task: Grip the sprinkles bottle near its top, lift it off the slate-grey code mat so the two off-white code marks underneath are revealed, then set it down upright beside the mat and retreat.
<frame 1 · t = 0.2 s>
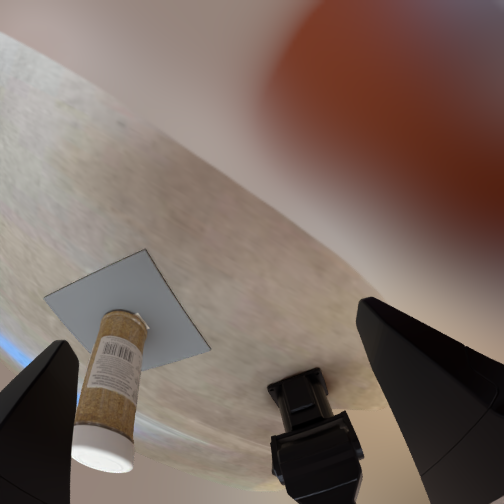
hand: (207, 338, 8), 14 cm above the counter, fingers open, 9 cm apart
code mat: (125, 326, 25), on the counter
sprinkles bottle: (125, 326, 25), resting on code mat
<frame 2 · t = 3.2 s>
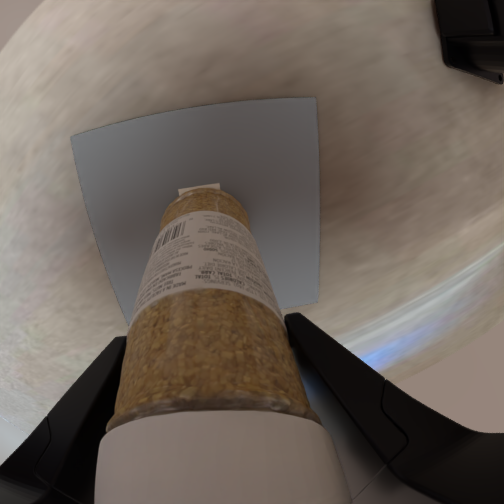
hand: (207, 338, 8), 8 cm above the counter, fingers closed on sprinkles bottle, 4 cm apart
code mat: (205, 226, 15), on the counter
sprinkles bottle: (205, 226, 15), resting on code mat, touching gripper
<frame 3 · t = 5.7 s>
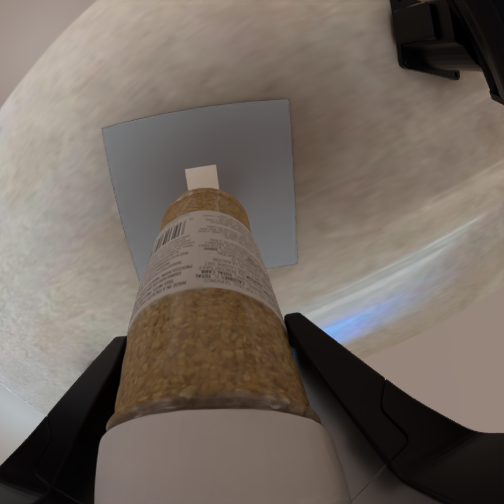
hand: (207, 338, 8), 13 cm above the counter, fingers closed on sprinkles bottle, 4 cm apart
code mat: (205, 198, 19), on the counter
sprinkles bottle: (205, 226, 15), point 5 cm above the counter, touching gripper
when the fingers open (9 cm above the counter, at t = 8.2 s): sprinkles bottle drops 1 cm, on the counter.
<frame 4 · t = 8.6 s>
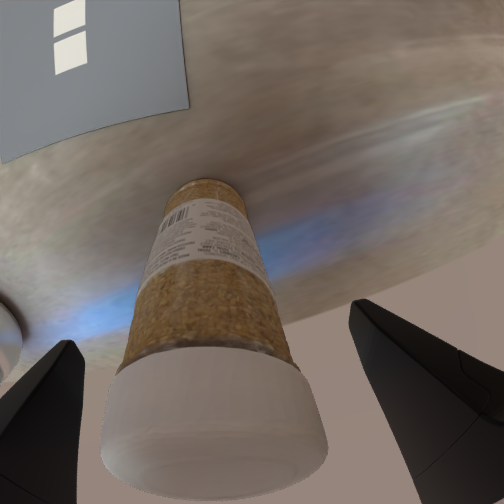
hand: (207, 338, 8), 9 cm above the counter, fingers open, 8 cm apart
code mat: (70, 34, 10), on the counter
sprinkles bottle: (205, 214, 16), on the counter
plastic bottle: (0, 315, 17), on the counter
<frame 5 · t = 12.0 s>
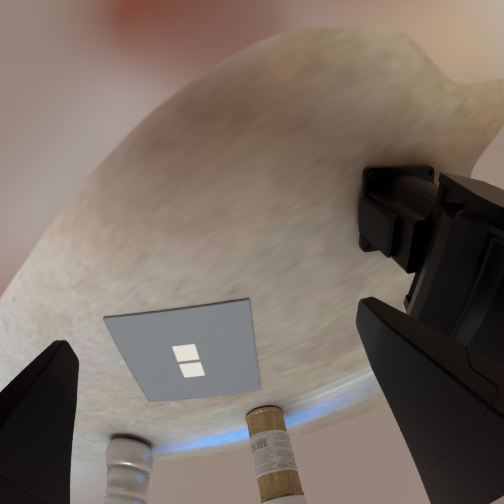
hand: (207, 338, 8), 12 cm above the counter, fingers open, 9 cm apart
code mat: (189, 360, 25), on the counter
sprinkles bottle: (264, 413, 31), on the counter
plastic bottle: (130, 441, 32), on the counter
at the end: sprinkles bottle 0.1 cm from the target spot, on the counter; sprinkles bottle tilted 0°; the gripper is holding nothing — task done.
